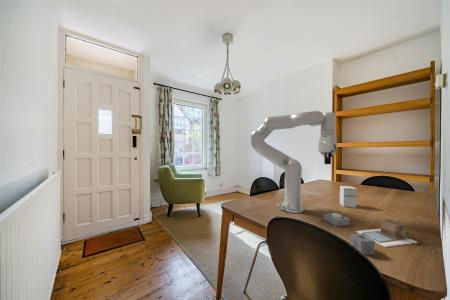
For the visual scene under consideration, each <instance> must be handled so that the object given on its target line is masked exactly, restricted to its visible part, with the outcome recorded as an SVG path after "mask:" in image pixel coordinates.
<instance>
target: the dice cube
mask: <svg viewBox="0 0 450 300" xmlns="http://www.w3.org/2000/svg"><path fill="white" fill-rule="evenodd" d="M375 243H376V242H375V241H374V240H372V239H370V238H369V237H367V236H365V235H364V234H359V233H355V234H353V233H352V234H350V245H351V244H352V245H354V246H355V247H356V248H357V249H359V250H360V251H361V252H362V253H363V254H365V255H375V250H376V249H375V247H376V246H375Z"/></svg>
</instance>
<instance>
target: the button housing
mask: <svg viewBox="0 0 450 300" xmlns="http://www.w3.org/2000/svg"><path fill="white" fill-rule="evenodd" d="M323 219H324V221H326V222H328V223H330V224H331V225H334V226H335V227H343V226H350V225H351V218H348V217H346V216H344V215H342V218H341V219H336V218H334V217H332V213H324V214H323Z"/></svg>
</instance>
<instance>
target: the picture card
mask: <svg viewBox="0 0 450 300" xmlns="http://www.w3.org/2000/svg"><path fill="white" fill-rule="evenodd" d="M355 232H356V234H364V235H365V236H367V237H369V238H370V239H372V240H374V241H375V243H376V244H378V245H380V246H382V247H384V248H389V247H398V245H399V246H403V245H404V246H405V244H406V245H412V243H414V244H418V241H417V240H414V239H411V238H410V237H408V236H406V237H405V238H400V239H394V238H391V237H389V236H387V235H385V234H383V233H381V228H374V229H373V228H372V229H364V230H356V231H355Z"/></svg>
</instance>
